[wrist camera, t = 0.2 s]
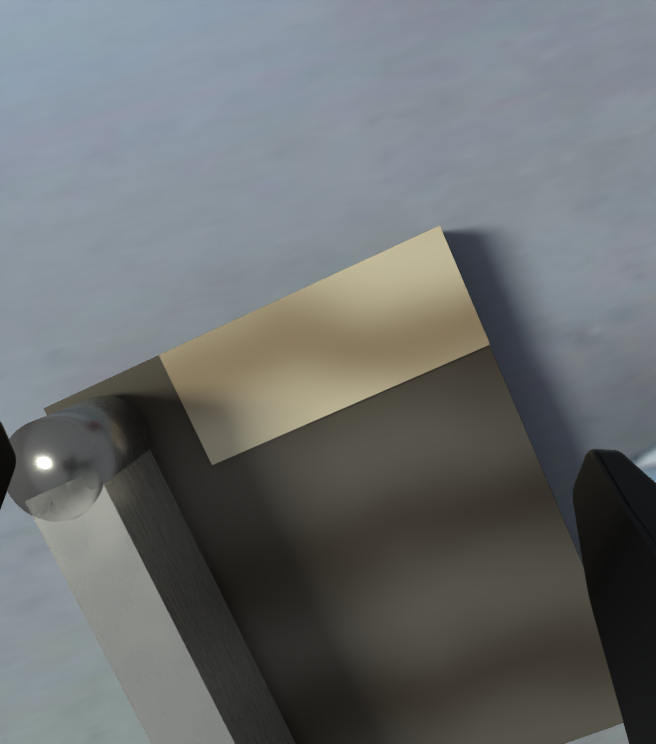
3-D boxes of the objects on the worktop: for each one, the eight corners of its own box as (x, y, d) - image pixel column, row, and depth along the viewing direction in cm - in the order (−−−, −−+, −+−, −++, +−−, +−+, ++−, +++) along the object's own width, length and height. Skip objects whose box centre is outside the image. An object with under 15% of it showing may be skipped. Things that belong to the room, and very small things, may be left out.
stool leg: (50, 416, 22) (-18, 443, 18) (126, 381, 22) (74, 401, 18) (253, 813, 24) (231, 917, 20) (326, 786, 23) (319, 887, 19)
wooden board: (623, 681, 25) (648, 718, 23) (275, 806, 26) (267, 853, 24) (432, 232, 23) (439, 225, 21) (69, 398, 24) (40, 409, 22)
